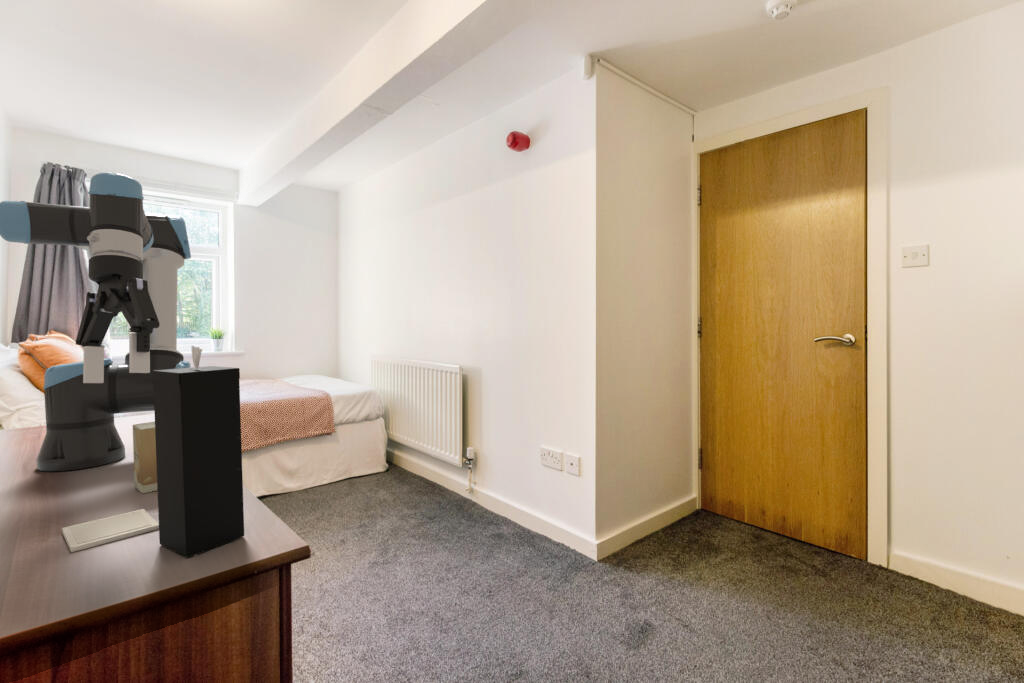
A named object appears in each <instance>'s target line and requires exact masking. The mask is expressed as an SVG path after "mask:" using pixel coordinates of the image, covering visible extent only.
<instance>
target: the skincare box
mask: <svg viewBox="0 0 1024 683" xmlns="http://www.w3.org/2000/svg"><path fill="white" fill-rule="evenodd" d="M132 442H133V443H132V446H133V447H132V448H133V483H134V488H136V490H138V491H139V492H140V493H141V494H149V493H152V491H153V492H156V491H157V492H158V489H157V463H156V437H155V421H150V422H143V423H141V422H140V423H136V424H132Z"/></svg>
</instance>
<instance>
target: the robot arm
mask: <svg viewBox="0 0 1024 683" xmlns="http://www.w3.org/2000/svg"><path fill="white" fill-rule="evenodd" d="M87 193H88V195H89V206H80V205H66V204H53V203H44V202H43V203H42V202H32V201H31V202H30V201H25V200H19V201H17V200H1V201H0V237H1V238H2V239H3V240H4V241H6V242H9V243H19V244H24V245H26V244H27V245H31V244H32V245H33V244H34V245H54V246H56V245H57V246H74V247H75V248H76V249H77V248H78V249H79V250H84V251H89V252H88V255H89V257H90V258H89V259H88V278H89V280H91V281H92V282H95V283H96V284H97V285H98V287H97V288H98V289H97V291H96V292H94V291H93V292H92V291H87V293H86V296H85V305H84V306H85V307H84V309H83V313H82V317H81V320H80V325H79V328H78V330H77V331H78V332H77V335H76V339H75V344H76V345H77V346H78V345H79V346H81V347H82V348H83V360H82V361H76V362H70V363H62V364H57V365H56V364H55V365H53V366H50V367H49V368H47V369H46V370H45V371H44V377H43V378H44V379H43V380H44V384H43V386H42V389H43V392H44V411H45V412H44V413H45V427H46V428H45V430H46V433H45V435H44V438H43V440H42V445H41V447H40V449H39V451H38V455H37V458H36V470H38V471H41V472H64V471H74V470H81V469H88V468H93V467H94V468H95V467H99V466H103V465H107V464H111V463H114V462H117V461H119V460H121V459H124V458H125V457H126V448H125V444H124V442H123V440H122V438H121V436H120V434H119V432H118V429H117V427H116V425H115V424H116V423H115V414H116V415H117V414H128V413H129V414H130V413H139V412H140V413H141V412H155V411H154V386H153V381H152V371H153V370H166V369H180V368H192V367H191V363H190V361H187V360H185V358H184V355H183V353H181V352H180V351H179V350H177V346H178V344H177V339H178V338H177V336H178V334H177V333H178V332H177V330H178V328H177V327H178V324H177V323H178V319H177V318H178V317H177V316H178V270H180V269H181V268H182V267H184V265H185V260H189V259H191V257H192V256H191V248H190V243H189V237H188V232H187V226H186V222H185V219H184V218H183V217H182V216H180V215H177V214H176V215H175V214H168V213H155V212H154V213H152V212H145V210H144V201H143V200H145V199H144V198H145V197H144V193H143V186H142V184H141V183H140V182H139V181H137V180H136V179H134V178H133V177H131V176H128V175H125V174H121V173H115V172H114V173H113V172H100V173H96V174H94V175H92V176H91V178H90V182H89V190H88V192H87ZM119 313H122V315H123V317H124V319H125V320H126V322H127V323H128V325H129V329H128V332H129V335H128V336H129V338H128V339H129V340H128V341H129V342H128V343H129V345H128V346H129V349H128V350H129V352H127V353H126V354H125V356H124V363H114V361H113V360H112V359H111V358H110V357H109V358H108V357H106V358H105V356H104V355H105V348H106V346H105V344H104V343H103V342H104V339H105V336H106V335H107V332H108V330H109V327H110V326H111V323H112V321H113V318H115V317H118V315H119Z"/></svg>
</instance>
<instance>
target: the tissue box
mask: <svg viewBox="0 0 1024 683" xmlns="http://www.w3.org/2000/svg"><path fill="white" fill-rule="evenodd" d="M190 346H191V358H192V362H193V367H191V368H180V369H166V370H153V371H152V381H153V386H154V411H153V412H154V422H155V437H156V463H157V489H158V490H157V507H158V508H157V510H158V512H157V513H158V524H159V529H158V533H159V534H158V536H159V537H158V538H159V545H160V546H162V547H164V548H167V549H168V550H171V551H172V552H174V553H176V554H178V555H180V556H182V557H184V558H186V559H187V558H190V557H193V556H197V555H199V554H202V553H205V552H207V551H209V550H212V549H215V548H218V547H220V546H222V545H225V544H228V543H231V542H234V541H237V540H239V539H240V538H242V537H245V517H244V516H245V514H244V512H245V511H244V510H245V509H244V488H243V487H244V483H243V482H244V481H243V458H242V457H243V454H242V453H243V450H242V423H241V422H242V421H241V392H240V391H241V390H240V379H241V377H240V376H241V375H240V374H241V373H240V368H238V367H228V366H214V365H213V366H212V365H210V366H208V365H206V366H200V360H201V356H202V352H203V348H200V347H199V346H198V347H197V346H194V345H190ZM236 539H237V540H236Z"/></svg>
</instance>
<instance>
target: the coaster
mask: <svg viewBox="0 0 1024 683" xmlns="http://www.w3.org/2000/svg"><path fill="white" fill-rule="evenodd" d="M157 530H159V522H157V521H156V520H155V519H154V518H153V517H152V516H151V515H150V514H149V513H148V511H146V510H145V509H144V508H141V509H136V510H133V511H128V512H124V513H119V514H115V515H111V516H107V517H104V518H99V519H94V520H89V521H86V522H82V523H77V524H73V525H70V526H69V525H68V526H66V527H65V526H64V527H61V533H62V535H63V537H64V540H65V542H66V544H67V546H68V549H69V551H70V553H75V552H77V551H81V550H85V549H88V548H89V549H90V548H93V547H97V546H100V545H104V544H108V543H110V542H111V543H112V542H115V541H119V540H123V539H127V538H129V537H133V536H138V535H141V534H144V533H148V532H153V531H157Z"/></svg>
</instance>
